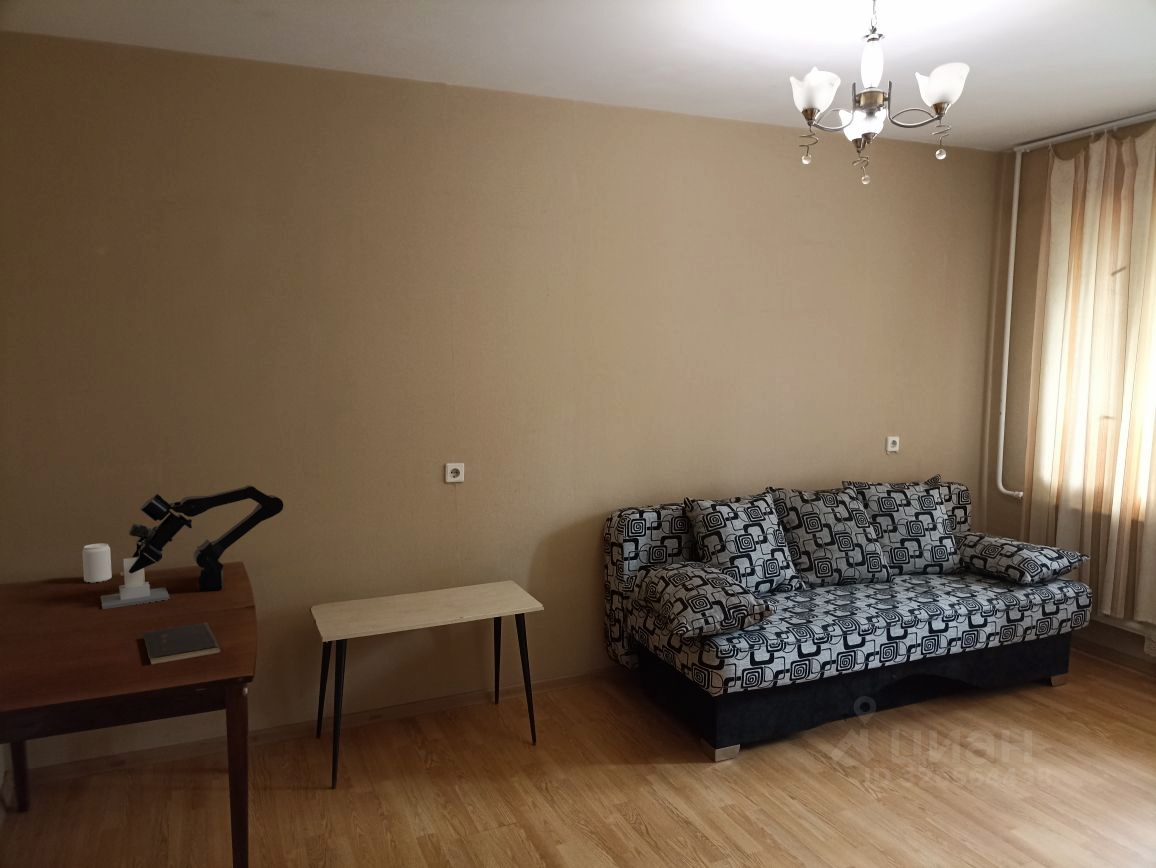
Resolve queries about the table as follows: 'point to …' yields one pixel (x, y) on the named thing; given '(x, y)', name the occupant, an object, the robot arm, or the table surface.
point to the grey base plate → (134, 596)
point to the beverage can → (96, 563)
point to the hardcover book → (180, 643)
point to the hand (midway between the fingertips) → (128, 569)
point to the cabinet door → (134, 578)
